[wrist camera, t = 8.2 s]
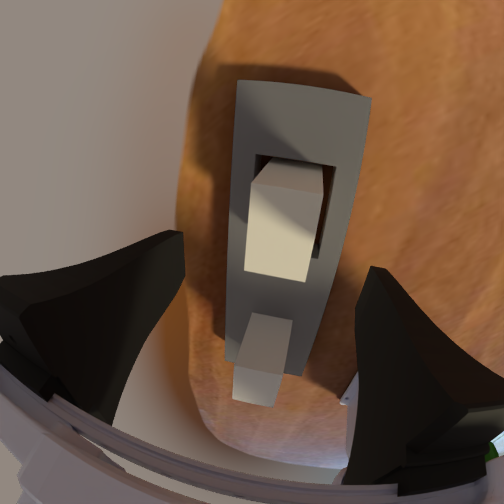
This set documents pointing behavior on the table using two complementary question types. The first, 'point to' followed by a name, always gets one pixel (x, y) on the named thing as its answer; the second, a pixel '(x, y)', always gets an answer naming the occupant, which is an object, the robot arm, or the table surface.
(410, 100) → the table surface
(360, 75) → the table surface
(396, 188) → the table surface
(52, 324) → the robot arm
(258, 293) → the slotted gray plate
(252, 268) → the plug
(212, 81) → the table surface
